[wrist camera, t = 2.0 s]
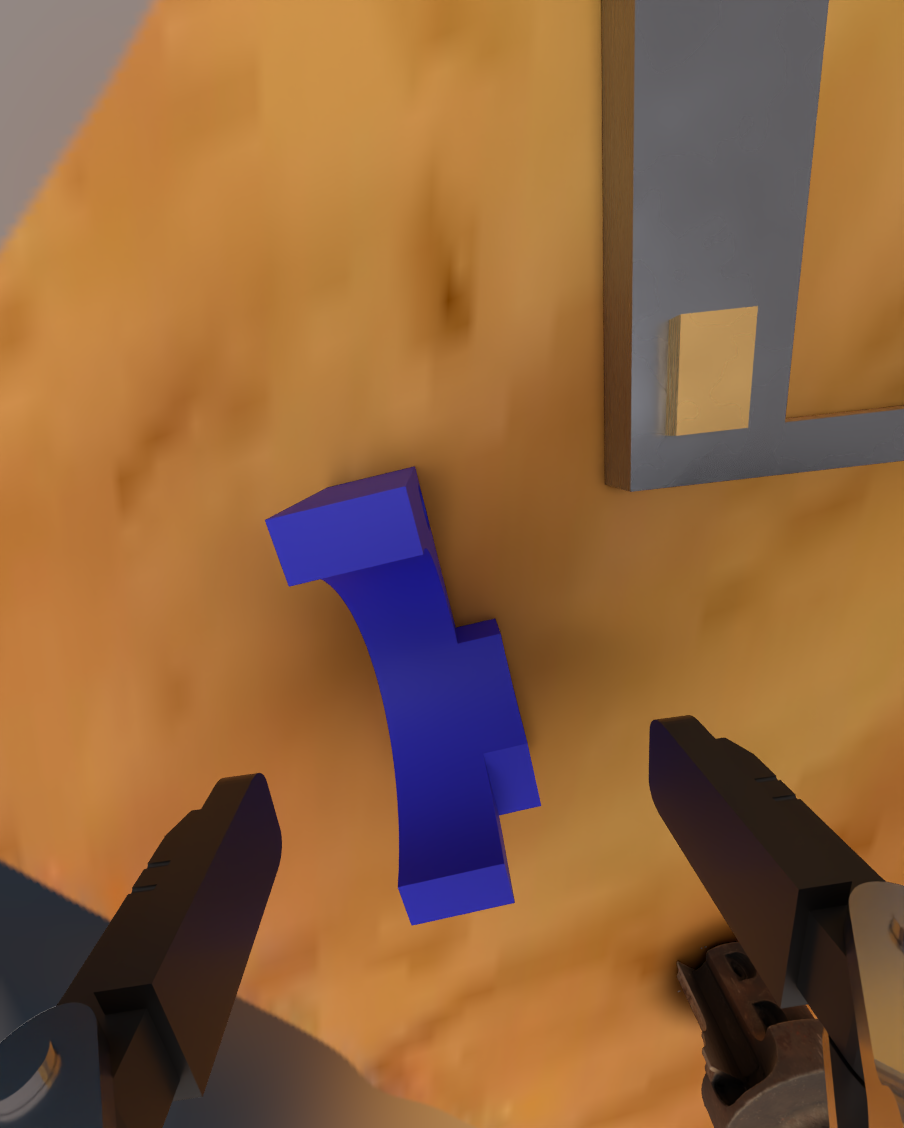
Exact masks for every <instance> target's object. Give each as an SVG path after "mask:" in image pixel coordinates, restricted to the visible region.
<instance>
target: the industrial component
mask: <svg viewBox="0 0 904 1128" xmlns="http://www.w3.org/2000/svg"><path fill="white" fill-rule="evenodd" d="M705 947H707V946H705ZM701 949H702V948H701ZM677 966H678V969H679V972H678V974H677V978H678V980H679V982H680V984H681V987H682V989H683V991H684V994H685V995H686V998H687V1000H688V1002H689V1004H690V1006H691V1008H692V1010H693V1012H694V1015H695V1017H696V1019H697V1021H698V1023H699V1025H700V1027H701V1030H702V1038H703V1042H704V1047H703V1050H702V1054H703V1056H704V1058H705V1061H706V1065H705V1071H706V1074H705V1076H704V1079H703V1083H702V1089H701V1090H702V1098H703V1101H704V1106H705V1107H706V1109H707V1111H708V1113H709V1116H710V1118H711V1121H712V1123H713V1126H714V1128H830V1125H829V1114H828V1102H827V1091H826V1080H825V1069H824V1058H823V1046H822V1032H823V1025H822V1024H821V1022H820V1021H819V1019H814V1017H813V1016H812V1014H811V1012H810V1011H809V1009H808V1008H807V1006H806V1005H800V1006H794V1007H787V1008H781V1009H780V1007H779V1005H778V1004H777V1002H776V1001H775V999H774V997H773V996H772V994H771V993H770V991H769V989H768V988H767V986H766V985H765V983H764V981H763V980H762V978H761V977H760V975H759V973H758V972H757V970H756V969H755V967H754V965H753V964H752V962H751V961H750V959H749V957H748V956H747V954H746V953H745V951H744V949H743V948H742V946H741V944H740V943H739V942H731V943H726V944H723V945H719V946H717V947H714V948H712V949H710V950H708V951H707V954H706V962H704V963H703V965H702V966H701V967H700V968H699V969H697V970H694V969H692V968H690V967H688V966H686V965H684V964H682V963H680V962H678V961H677ZM678 992H680V991H678Z"/></svg>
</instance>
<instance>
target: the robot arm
mask: <svg viewBox="0 0 904 1128" xmlns="http://www.w3.org/2000/svg"><path fill="white" fill-rule="evenodd" d="M649 786H650V791H651V795H652V799H653V801H654V804H655V806H656V809H657V811H658V813H659V814H660V816H661V818H662V819H663V821H664V822H665V824H666V826H667V827H668V829H669V831H670V832H671V834H672V835H673V837H674V839H675V840H676V842H677V843H678V845H679V847H680V848H681V850H682V851H683V853H684V855H685V856H686V858H687V859H688V861H689V863H690V864H691V866H692V867H693V869H694V871H695V872H696V874H697V875H698V877H699V879H700V880H701V882H702V883H703V885H704V887H705V888H706V890H707V892H708V893H709V895H710V896H711V898H712V900H713V901H714V903H715V904H716V906H717V908H718V909H719V911H720V912H721V914H722V916H723V917H724V919H725V920H726V922H727V924H728V925H729V927H730V928H731V930H732V932H733V933H734V935H735V936H736V938H737V940H738V941H739V943H740V944H741V946H742V948H743V949H744V951H745V953H746V954H747V956H748V957H749V959H750V961H751V962H752V964H753V965H754V967H755V969H756V970H757V972H758V973H759V975H760V977H761V978H762V980H763V981H764V983H765V985H766V986H767V988H768V989H769V991H770V993H771V994H772V996H773V997H774V999H775V1001H776V1002H777V1004H778V1005H779V1007H780V1009H781V1008H787V1007H794V1006H800V1005H806V1004H808V1005H809V1006H810V1007H811V1009H812V1010H813V1012H814V1013H815V1015H816V1016H817V1018H818V1019H819V1021H820V1022H821V1024H822V1025H823V1032H822V1046H823V1058H824V1069H825V1080H826V1091H827V1102H828V1114H829V1125H830V1128H904V886H903V885H899V884H895V883H889V882H886V881H885V880H884V879H882V878H881V877H880V876H879V875H878V874H877V873H876V872H875V871H874V870H873V869H872V868H871V867H870V866H869V865H868V864H867V863H866V862H865V861H864V860H863V859H862V858H861V857H859V856H858V855H857V854H856V853H855V852H854V851H853V850H852V849H851V848H850V847H849V846H848V845H847V844H846V843H845V842H844V841H843V840H842V839H841V838H840V837H839V836H838V835H837V834H836V833H835V832H834V831H833V830H832V829H831V828H830V827H828V826H827V825H826V824H825V823H824V822H823V821H822V820H821V819H820V818H819V817H818V816H817V815H816V814H815V813H814V812H813V811H812V810H811V809H810V808H809V807H808V806H807V805H806V804H805V803H804V802H803V801H802V800H801V799H797V798H796V796H795V794H794V793H793V792H792V791H791V790H790V789H789V788H788V787H787V786H786V785H785V784H784V783H783V782H782V781H781V780H777V778H776V775H775V774H774V773H773V772H772V771H771V770H770V769H769V768H767V767H766V766H765V765H764V764H763V763H762V762H761V761H760V760H759V759H758V758H757V757H756V756H755V755H754V754H753V753H751V752H749V751H747V750H746V749H744V748H742V747H740V746H739V745H737V744H735V743H734V742H732V741H730V740H728V739H727V738H719V739H715V738H714V737H713V736H712V735H711V734H710V733H709V732H708V731H707V729H706V728H705V727H704V726H703V725H702V724H701V723H700V722H699V721H698V720H697V719H696V718H694V717H693V716H691V715H686V716H679V717H672V718H664V719H657V720H653V721H652V722H651V725H650V742H649ZM281 851H282V837H281V830H280V827H279V823H278V820H277V816H276V813H275V809H274V805H273V802H272V798H271V795H270V791H269V788H268V784H267V781H266V778H265V777H264V775H263V774H261V773H256V774H249V775H241V776H234V777H227V778H222V779H220V780H219V781H218V782H217V783H216V785H215V787H214V788H213V790H212V792H211V793H210V795H209V797H208V798H207V800H206V802H205V804H204V805H203V807H202V809H200V810H193V811H191V812H189V813H188V814H187V815H186V816H185V817H184V818H183V819H182V820H181V821H180V822H179V823H178V824H177V825H176V826H175V827H174V828H173V829H172V830H171V831H170V832H169V833H168V834H167V835H166V836H165V837H164V839H163V840H162V842H161V844H160V845H159V847H158V848H157V850H156V851H155V853H154V855H153V856H152V858H151V859H150V861H149V862H148V867H147V869H144V870H143V872H142V873H141V875H140V876H139V878H138V880H137V881H136V883H135V884H134V886H133V887H132V893H131V894H128V895H127V897H126V898H125V900H124V901H123V903H122V905H121V906H120V908H119V909H118V911H117V912H116V914H115V916H114V917H113V919H112V920H111V922H110V924H109V925H108V927H107V928H106V930H105V931H104V933H103V934H102V936H101V938H100V939H99V941H98V942H97V944H96V946H95V947H94V949H93V950H92V952H91V953H90V955H89V956H88V958H87V960H86V961H85V963H84V964H83V966H82V967H81V969H80V970H79V972H78V973H77V975H76V977H75V978H74V980H73V981H72V983H71V984H70V986H69V988H68V989H67V991H66V993H65V994H64V995H63V997H62V998H61V1000H60V1001H59V1003H58V1004H57V1005H56V1007H53V1008H50V1009H48V1010H46V1011H44V1012H42V1013H40V1014H39V1015H37V1016H35V1017H33V1018H32V1019H30V1020H28V1021H27V1022H25V1023H24V1024H23V1025H22V1026H20V1027H19V1028H17V1029H16V1030H14V1031H13V1032H12V1033H11V1034H10V1035H9V1036H7V1037H6V1038H5V1039H4V1040H3V1041H2V1042H0V1128H162V1127H163V1125H164V1122H165V1119H166V1117H167V1114H168V1111H169V1108H170V1106H171V1103H172V1102H173V1101H179V1100H185V1099H192V1098H198V1097H203V1094H204V1091H205V1088H206V1085H207V1082H208V1079H209V1076H210V1073H211V1070H212V1067H213V1063H214V1061H215V1057H216V1055H217V1052H218V1049H219V1046H220V1043H221V1040H222V1037H223V1033H224V1031H225V1027H226V1025H227V1022H228V1018H229V1015H230V1012H231V1009H232V1006H233V1003H234V1000H235V997H236V994H237V991H238V988H239V985H240V982H241V979H242V976H243V973H244V970H245V967H246V964H247V961H248V958H249V955H250V952H251V949H252V946H253V943H254V940H255V937H256V934H257V931H258V928H259V925H260V922H261V919H262V916H263V913H264V910H265V907H266V904H267V901H268V898H269V895H270V892H271V889H272V886H273V883H274V880H275V877H276V874H277V871H278V867H279V864H280V859H281Z"/></svg>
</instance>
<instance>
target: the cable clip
mask: <svg viewBox="0 0 904 1128" xmlns="http://www.w3.org/2000/svg"><path fill="white" fill-rule="evenodd" d="M265 522H266V525H267V527H268V530H269V533H270V536H271V538H272V541H273V544H274V547H275V549H276V552H277V555H278V558H279V560H280V563H281V566H282V569H283V572H284V574H285V577H286V580H287V583H288V585H289V586H293V585H298V584H302V583H306V582H310V581H314V580H319V579H322V580H324V581H325V582H326V583H328V584H329V585H330V586H331V587H332V588H333V589H335V590H336V592H337V593H338V594H339V595H340V596H341V598H342V599H343V601H344V602H345V603H346V605H347V607H348V608H349V610H350V612H351V613H352V615H353V617H354V619H355V621H356V623H357V625H358V627H359V629H360V632H361V634H362V636H363V639H364V641H365V644H366V646H367V649H368V652H369V655H370V657H371V660H372V664H373V667H374V670H375V673H376V677H377V680H378V684H379V688H380V692H381V695H382V700H383V704H384V708H385V713H386V718H387V723H388V729H389V734H390V740H391V747H392V753H393V761H394V769H395V778H396V788H397V800H398V817H399V875H398V889H399V892H400V895H401V897H402V900H403V903H404V906H405V908H406V911H407V914H408V917H409V920H410V922H411V925H417V924H421V923H426V922H430V921H435V920H439V919H444V918H448V917H453V916H457V915H462V914H466V913H471V912H475V911H480V910H484V909H489V908H493V907H498V906H502V905H507V904H511V903H515V901H514V896H513V890H512V885H511V879H510V874H509V868H508V863H507V857H506V851H505V846H504V840H503V835H502V829H501V824H500V818H499V815H502V814H507V813H511V812H516V811H520V810H525V809H529V808H533V807H538V806H541V803H540V798H539V794H538V789H537V785H536V780H535V775H534V771H533V766H532V762H531V757H530V753H529V748H528V744H527V740H526V736H525V732H524V728H523V724H522V721H521V717H520V713H519V709H518V705H517V701H516V697H515V693H514V689H513V685H512V681H511V676H510V672H509V668H508V664H507V660H506V655H505V651H504V647H503V642H502V638H501V633H500V631H499V628H498V625H497V622H496V619H491V620H486V621H482V622H478V623H474V624H469V625H465V626H461V627H457V628H456V627H455V623H454V619H453V615H452V611H451V607H450V603H449V599H448V595H447V592H446V588H445V584H444V580H443V576H442V572H441V568H440V564H439V560H438V556H437V552H436V548H435V544H434V540H433V536H432V532H431V528H430V524H429V520H428V516H427V512H426V508H425V505H424V501H423V497H422V493H421V489H420V485H419V481H418V477H417V473H416V469H415V466H414V467H410V468H406V469H402V470H398V471H394V472H390V473H385V474H381V475H377V476H373V477H369V478H365V479H361V480H357V481H352V482H348V483H344V484H340V485H336V486H332V487H328V488H326V489H324V490H322V491H320V492H318V493H316V494H314V495H312V496H310V497H308V498H306V499H304V500H303V501H301V502H299V503H297V504H295V505H293V506H291V507H289V508H287V509H285V510H283V511H281V512H280V513H278V514H276V515H274V516H272V517H270V518H268V519H266V520H265Z"/></svg>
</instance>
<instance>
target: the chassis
mask: <svg viewBox="0 0 904 1128" xmlns="http://www.w3.org/2000/svg"><path fill="white" fill-rule="evenodd" d="M828 3H829V0H602V117H603V257H604V396H605V484H606V485H609V486H613V487H616V488H620V489H623V490H626V491H630V492H632V491H641V490H650V489H659V488H667V487H676V486H685V485H694V484H703V483H711V482H720V481H729V480H738V479H746V478H755V477H764V476H773V475H782V474H790V473H799V472H808V471H817V470H826V469H834V468H843V467H852V466H861V465H869V464H878V463H887V462H896V461H904V405H901V406H892V407H884V408H875V409H866V410H857V411H848V412H839V413H830V414H821V415H812V416H803V417H794V418H785V416H786V406H787V397H788V387H789V378H790V368H791V358H792V349H793V339H794V330H795V320H796V310H797V301H798V291H799V282H800V272H801V262H802V253H803V243H804V234H805V224H806V214H807V205H808V195H809V185H810V176H811V166H812V157H813V147H814V137H815V128H816V118H817V109H818V99H819V89H820V80H821V70H822V61H823V51H824V41H825V32H826V22H827V13H828Z"/></svg>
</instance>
